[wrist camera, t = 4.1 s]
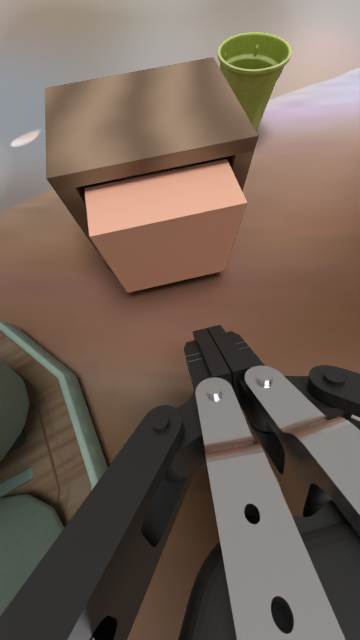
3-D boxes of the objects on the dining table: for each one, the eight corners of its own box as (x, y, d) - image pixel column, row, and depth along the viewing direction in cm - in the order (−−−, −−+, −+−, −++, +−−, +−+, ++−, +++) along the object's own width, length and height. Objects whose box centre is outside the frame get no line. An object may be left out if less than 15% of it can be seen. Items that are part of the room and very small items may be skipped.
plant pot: (268, 149, 31) (298, 66, 23) (211, 152, 31) (220, 71, 23) (261, 115, 34) (285, 29, 26) (209, 117, 34) (215, 34, 26)
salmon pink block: (203, 212, 26) (211, 126, 17) (224, 270, 23) (247, 202, 14) (117, 231, 25) (80, 152, 17) (127, 292, 22) (89, 236, 14)
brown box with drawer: (202, 183, 29) (213, 57, 18) (226, 245, 26) (258, 135, 14) (101, 204, 29) (45, 88, 17) (110, 270, 25) (46, 178, 14)
